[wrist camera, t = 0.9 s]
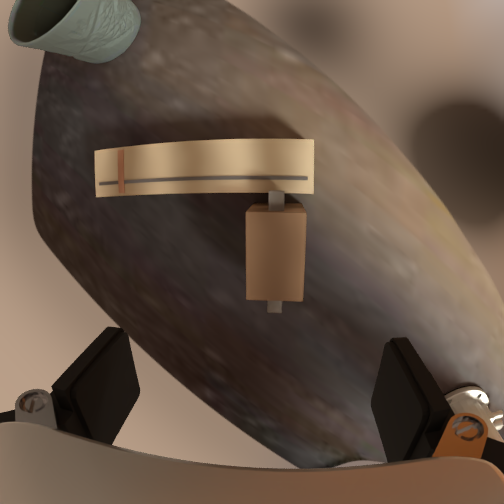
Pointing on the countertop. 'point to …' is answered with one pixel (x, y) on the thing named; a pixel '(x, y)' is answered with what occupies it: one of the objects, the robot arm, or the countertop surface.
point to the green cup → (75, 27)
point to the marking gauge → (275, 251)
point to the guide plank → (206, 167)
